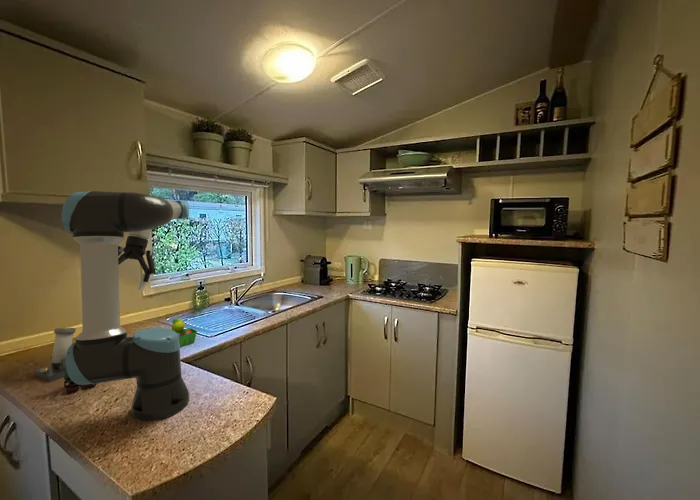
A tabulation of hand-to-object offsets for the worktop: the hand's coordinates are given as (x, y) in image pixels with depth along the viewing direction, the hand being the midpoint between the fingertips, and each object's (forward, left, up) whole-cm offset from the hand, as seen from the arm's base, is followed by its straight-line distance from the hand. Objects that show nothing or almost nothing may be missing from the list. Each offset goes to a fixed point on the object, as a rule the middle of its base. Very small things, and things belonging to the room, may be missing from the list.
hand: (124, 287), depth 134 cm
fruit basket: (+4, -19, -28) cm, 34 cm away
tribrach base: (-10, +19, -28) cm, 35 cm away
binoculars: (-26, +7, -28) cm, 39 cm away
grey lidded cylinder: (-10, +19, -24) cm, 33 cm away
